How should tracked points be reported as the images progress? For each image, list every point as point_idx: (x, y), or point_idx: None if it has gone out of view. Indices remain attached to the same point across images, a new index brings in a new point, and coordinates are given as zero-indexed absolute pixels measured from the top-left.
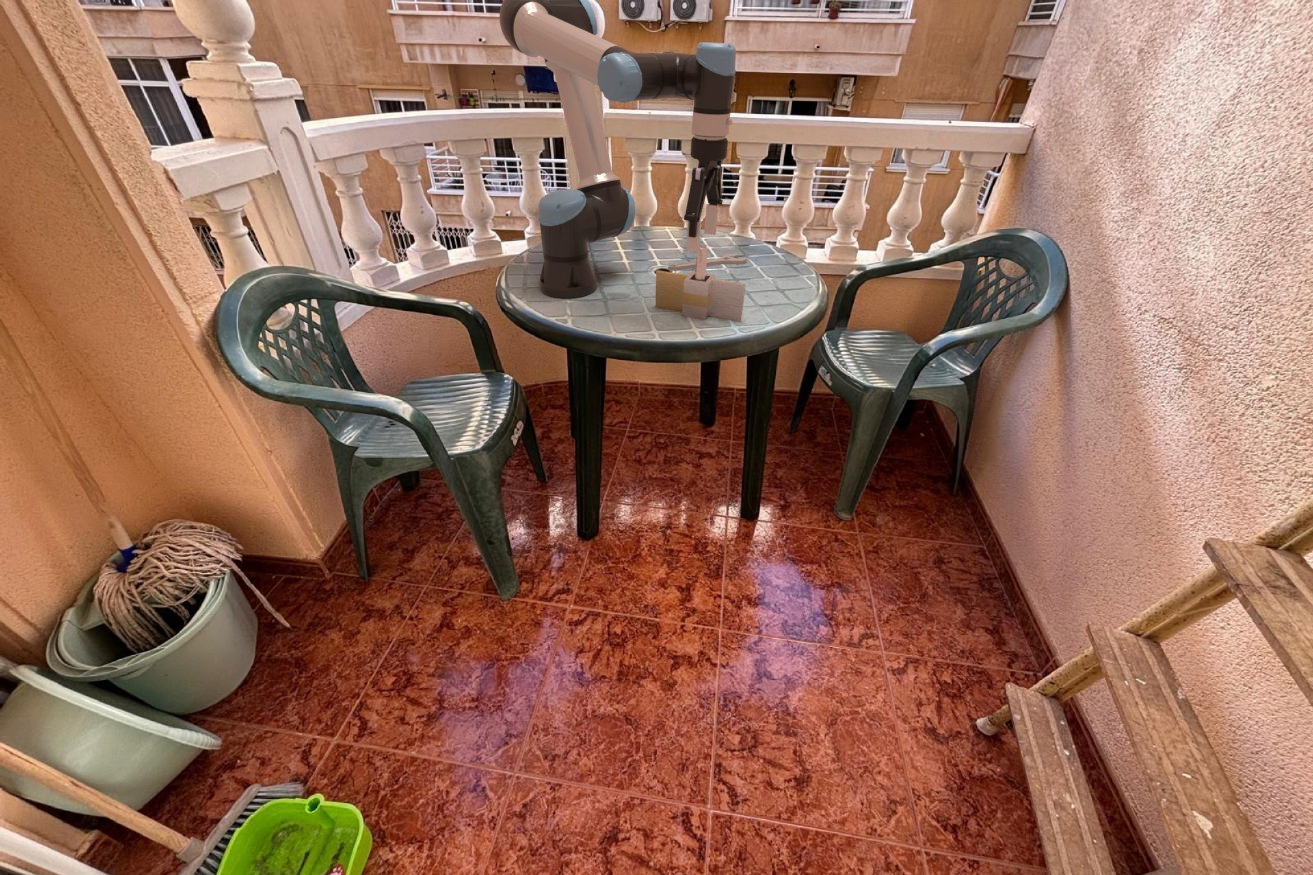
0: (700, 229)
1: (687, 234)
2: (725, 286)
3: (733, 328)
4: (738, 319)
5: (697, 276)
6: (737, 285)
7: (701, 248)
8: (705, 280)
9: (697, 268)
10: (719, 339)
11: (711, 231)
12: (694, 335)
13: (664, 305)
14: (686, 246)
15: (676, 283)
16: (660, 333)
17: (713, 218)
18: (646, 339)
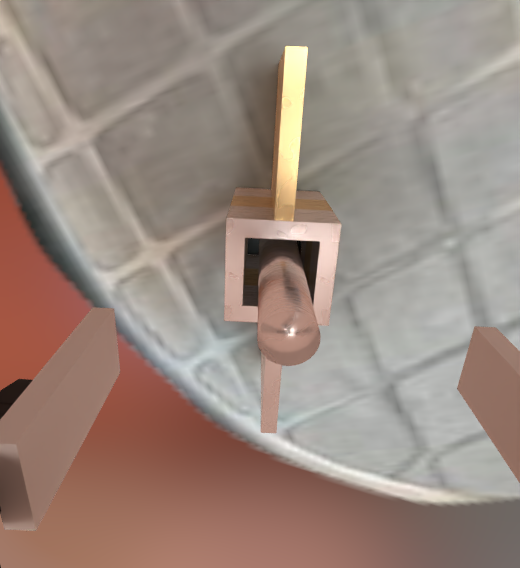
0: (64, 472)
1: (48, 365)
2: (264, 364)
3: (210, 347)
4: (261, 354)
5: (259, 272)
6: (262, 408)
7: (276, 338)
8: (313, 281)
9: (260, 283)
10: (127, 327)
11: (470, 380)
12: (117, 260)
13: (276, 104)
14: (81, 321)
15: (276, 162)
16: (79, 156)
17: (515, 445)
18: (15, 124)
